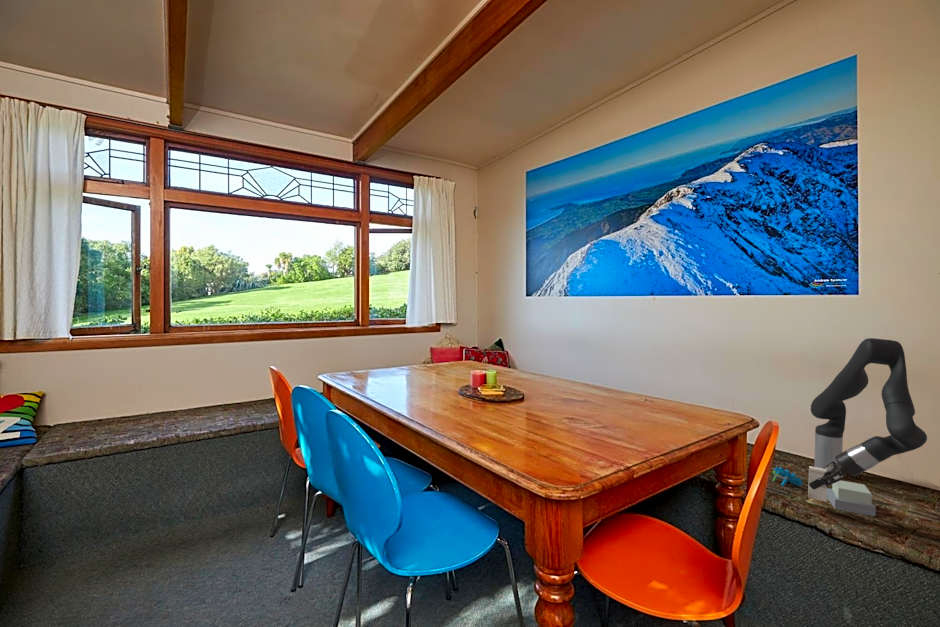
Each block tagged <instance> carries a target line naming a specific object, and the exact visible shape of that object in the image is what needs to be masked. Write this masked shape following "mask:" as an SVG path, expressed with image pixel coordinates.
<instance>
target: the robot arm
mask: <svg viewBox="0 0 940 627" xmlns="http://www.w3.org/2000/svg"><path fill="white" fill-rule="evenodd" d="M869 364H876V365H884V366H888V368H889V371H890V375H889V377H888V379H887V380H886V382H885V383H884V385H883V386H882V388H881V399H882V403H883V406H884V409H885V423H886V424H885V425H886V428H887V430H888V434H890V435H888V436H880V435H879V436H878V435H875V436H872V437H870V438H868V439H866V440H864V441H863V442H860V443H859V444H856V445H854V446H852V447H850V448H848V449H846V450H844V451H843V444H844V440H843V439H844V437H843V436H844V433H845V427H846V418H847V407H846V404H845V403H844V401H846V400H850V399H852V398H854V397H856V396H858V395H859V394H861V392H863V390H864V389H865V388H866V387H867V386H868V384H869V377H868V376H869V375H868V374H867V371H866V370H865V368H866V366H868V365H869ZM908 385H909V384H908V374H907V363H906V357H905V350H904V348H903V346H902V344H901V343H900V341H897V340H893V339H882V338H870V337H869V338H865V339H864V340H862V341H861V342H860V344H859V345H858V347H857V348H856V349H855V351H854V353H853V354H852V356H851V358H850V359H849V361H848V362H847V363H846V365H845V366H844V367H843V368H842V369H841V370H840V372H838V373H837V375H836V376H835V377H834V379H833V380H832V381H831V382H830V384H828V386H827V387H826V388H825V389H824V390H823V391H821V393H819V394H818V395H817V396H816V397H815V398H814V399H813V400H812V402H811V404H810V413H811V414H812V416H813V417H815V418H816V419H819V420H828V421H827V422H825V423H822V424H819V425H816V426H815V427H814V428H815V429H814V430H815V432H814V434H815V435H814V463H813V467H818V468H823V469H824V470H827V471H826V472H824V474H823V476H822V477H820V478H818V479H817V480H815V481H813V482H811V483H809V482H808V484H809V486H810V487H811V488H812V489H814V490H815V489H817V488H819V487H821V486H823V485H826V486H827V487H829V486H831V485H832V484H833V483H836V482H838V481H840V480H841V481H843V477H844V476H845V474H849V475H850V476H852V477H856V476H858V475H860V474H862V473H864V472H866V471H867V470H870V469H872V468H874V467H875V466H877V465H879V464H880V463H881V462H884V461H885V460H888V459H889V458H891V457H893V456H895V455H900V454H903V453H907V452H908V453H909V452H912V451H914V450H917V449H920V448H921V447H923V446H924V445H925V444H926V442H927V441H928V435H927V434H926V432H925V431H924V430H923V429H922V428H920V427H919V426H918V425H917V424H916V423H915V420H914V416H915V414H916V409H915V406H914V402H913V400H912V397H911V394H910V391H909V386H908ZM827 474H828V475H827ZM826 479H828V480H827V481H826Z"/></svg>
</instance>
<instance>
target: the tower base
mask: <svg viewBox="0 0 940 627" xmlns="http://www.w3.org/2000/svg"><path fill="white" fill-rule="evenodd" d="M827 500H828V501H829V503H830V504H831V505H832V507H833V508H834V509H835V510H839V511H843V512H847V513H848V512H849V513H854V514H860V515H865V516H869V515H870V516H869V517H874V516H875V517H876V512H877V510H876V509H877V506H876V505H875V504H874V503H873V502H871V505H868V504H863V503H858V502H852V501H847V500H842V499H838V498H837V496H836V495H835V493H834V491H833V490H832V488H830V487H827Z"/></svg>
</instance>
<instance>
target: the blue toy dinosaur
mask: <svg viewBox="0 0 940 627" xmlns="http://www.w3.org/2000/svg"><path fill="white" fill-rule="evenodd" d="M772 474H773V477H772V478H773V479H772V480H771V481H772V482H773V481H774V482H776V480H777V479H779V480H782V482H781V484H780V486H781V485H782V486H781V487H784V486H785V485H786V483H789V482H790V484H793V485H794V484H795V485H794V486H797V485H798V486H802V485H803V484H804V482H803V481H802V479H801V478H800V477H799V476H797V477H796V474H795V473H794V472H792V473H791V472H790V470H788V469H784V468H783V467H781V466H780V467H778V466H776V467H775V468H774V469H773V471H772Z"/></svg>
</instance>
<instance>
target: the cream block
mask: <svg viewBox="0 0 940 627" xmlns="http://www.w3.org/2000/svg"><path fill="white" fill-rule="evenodd" d="M826 471H827V470H824V469H823V468H818V467H814V466H810V465H809V466H808V487H807V489H808V490H807V493H808V494H807V495H808V499H813V500H818V501H821V502H826V503H827V501H828V498H827V488H828V486H826V485H823V486H821V487H819V488H817V489H815V490H814V489H812V488H811V487H810V486H809V483H811V482H813V481H815V480H817V479H818V478H820V477H822V476H823V474H824V472H826ZM827 475H828V474H827ZM826 481H828V479H826Z"/></svg>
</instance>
